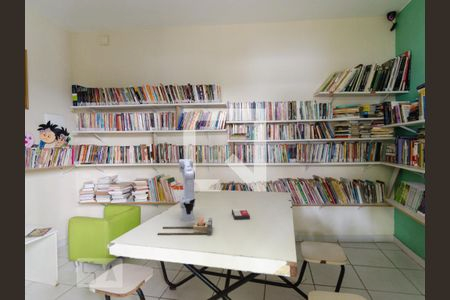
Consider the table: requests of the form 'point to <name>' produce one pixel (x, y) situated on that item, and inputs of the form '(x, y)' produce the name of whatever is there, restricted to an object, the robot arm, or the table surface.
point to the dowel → (201, 221)
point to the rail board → (209, 228)
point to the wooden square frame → (200, 228)
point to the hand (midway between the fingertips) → (189, 212)
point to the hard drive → (240, 214)
